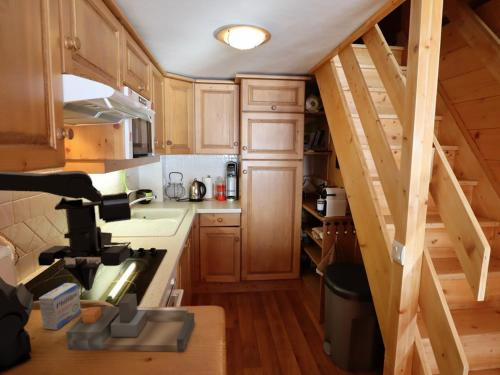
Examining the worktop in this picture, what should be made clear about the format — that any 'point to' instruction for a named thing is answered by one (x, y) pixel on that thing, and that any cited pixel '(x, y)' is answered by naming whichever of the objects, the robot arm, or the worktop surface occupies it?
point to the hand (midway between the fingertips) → (88, 289)
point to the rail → (149, 339)
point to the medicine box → (60, 306)
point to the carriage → (128, 318)
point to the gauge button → (91, 315)
